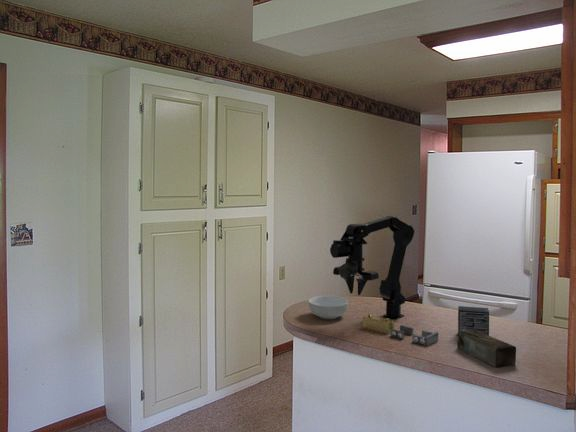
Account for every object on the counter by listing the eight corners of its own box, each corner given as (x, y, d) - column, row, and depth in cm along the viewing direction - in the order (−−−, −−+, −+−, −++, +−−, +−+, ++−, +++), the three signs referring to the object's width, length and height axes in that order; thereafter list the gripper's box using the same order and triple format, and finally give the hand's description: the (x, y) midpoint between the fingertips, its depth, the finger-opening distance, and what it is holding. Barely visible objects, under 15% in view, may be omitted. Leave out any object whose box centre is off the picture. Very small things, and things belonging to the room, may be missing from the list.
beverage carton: (475, 345, 163) (476, 327, 163) (517, 366, 145) (518, 345, 145) (456, 348, 161) (456, 329, 160) (496, 369, 143) (496, 348, 142)
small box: (487, 335, 174) (488, 307, 173) (489, 340, 167) (490, 312, 167) (457, 332, 177) (458, 305, 176) (458, 337, 171) (458, 309, 170)
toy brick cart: (402, 331, 179) (402, 323, 178) (439, 340, 168) (439, 332, 168) (389, 336, 172) (389, 328, 172) (427, 346, 162) (427, 338, 162)
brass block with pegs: (367, 325, 187) (367, 312, 186) (394, 332, 178) (394, 318, 178) (362, 327, 184) (362, 314, 184) (388, 334, 176) (389, 320, 175)
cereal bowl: (300, 316, 199) (300, 300, 199) (327, 309, 211) (327, 293, 210) (329, 325, 187) (329, 307, 186) (356, 316, 198) (356, 300, 198)
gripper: (324, 255, 188) (324, 293, 189) (362, 260, 175) (362, 302, 176) (341, 252, 196) (341, 289, 197) (379, 257, 182) (379, 296, 184)
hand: (355, 294), depth 188 cm, fingers open, 4 cm apart
